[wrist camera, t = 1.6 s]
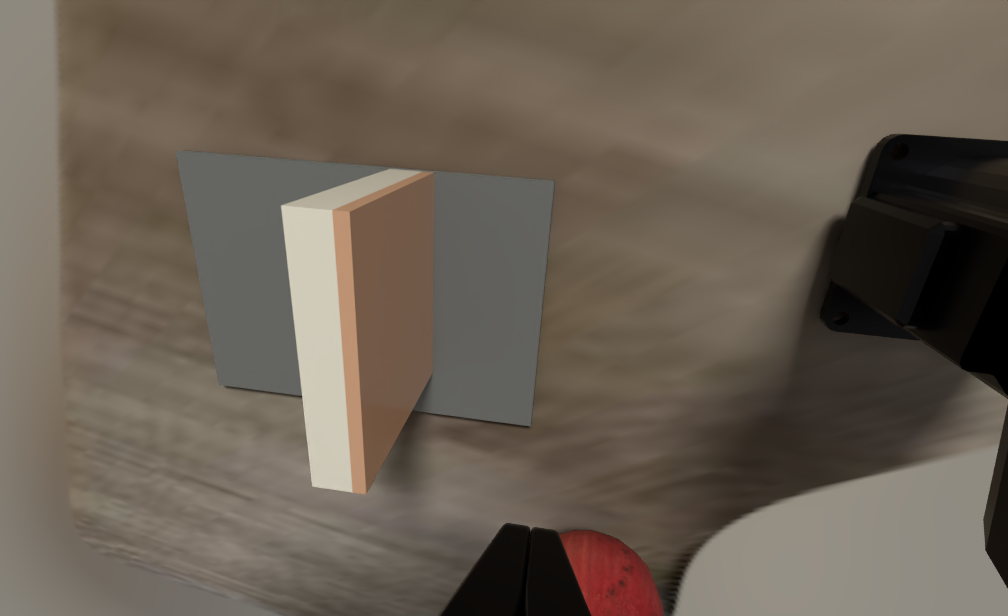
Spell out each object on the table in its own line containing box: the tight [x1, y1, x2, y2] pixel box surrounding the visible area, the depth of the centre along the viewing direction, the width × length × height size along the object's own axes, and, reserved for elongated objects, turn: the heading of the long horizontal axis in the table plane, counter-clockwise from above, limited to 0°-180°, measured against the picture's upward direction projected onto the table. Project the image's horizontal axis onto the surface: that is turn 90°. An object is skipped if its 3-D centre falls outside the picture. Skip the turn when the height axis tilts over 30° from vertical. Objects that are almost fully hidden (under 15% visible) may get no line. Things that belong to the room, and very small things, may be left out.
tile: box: [281, 169, 434, 494], centre depth 16 cm, size 2×8×7 cm, turn 176°
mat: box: [176, 150, 555, 426], centre depth 20 cm, size 14×10×1 cm
